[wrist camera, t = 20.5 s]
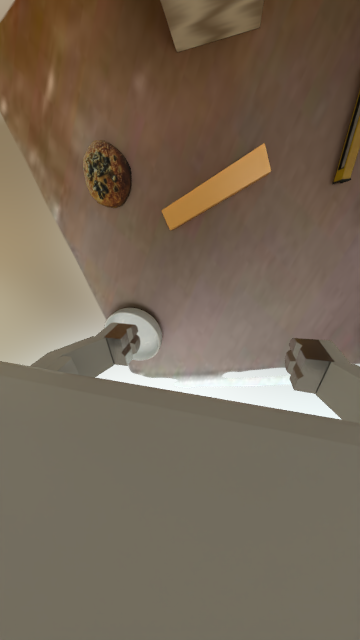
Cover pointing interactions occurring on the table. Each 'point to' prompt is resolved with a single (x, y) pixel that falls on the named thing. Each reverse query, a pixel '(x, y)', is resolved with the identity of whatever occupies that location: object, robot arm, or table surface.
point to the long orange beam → (219, 188)
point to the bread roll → (107, 174)
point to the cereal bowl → (140, 330)
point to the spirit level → (350, 147)
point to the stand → (209, 20)
